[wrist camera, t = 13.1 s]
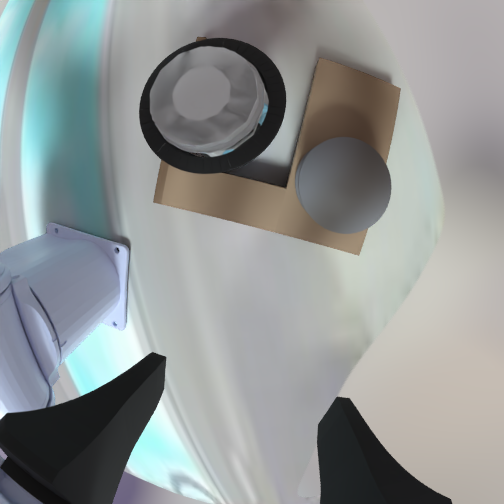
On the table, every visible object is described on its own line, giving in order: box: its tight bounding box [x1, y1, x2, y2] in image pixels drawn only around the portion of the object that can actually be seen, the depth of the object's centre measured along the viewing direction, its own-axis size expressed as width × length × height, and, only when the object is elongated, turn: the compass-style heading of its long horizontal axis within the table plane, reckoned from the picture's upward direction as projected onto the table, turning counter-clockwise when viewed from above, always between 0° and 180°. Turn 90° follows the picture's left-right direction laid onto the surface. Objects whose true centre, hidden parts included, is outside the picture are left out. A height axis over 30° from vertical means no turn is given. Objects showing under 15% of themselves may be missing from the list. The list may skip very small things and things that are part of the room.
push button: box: [139, 38, 286, 174], centre depth 12 cm, size 7×5×10 cm
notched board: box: [153, 37, 401, 255], centre depth 15 cm, size 14×12×4 cm
